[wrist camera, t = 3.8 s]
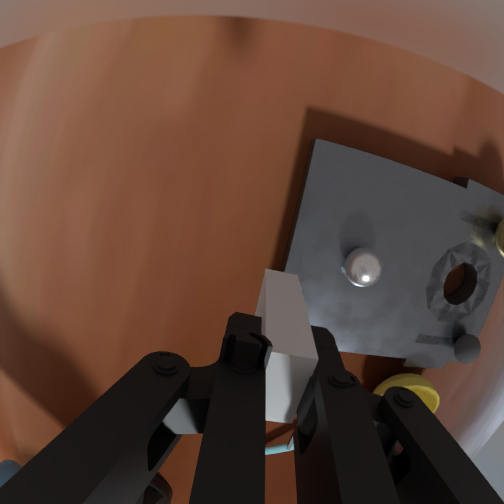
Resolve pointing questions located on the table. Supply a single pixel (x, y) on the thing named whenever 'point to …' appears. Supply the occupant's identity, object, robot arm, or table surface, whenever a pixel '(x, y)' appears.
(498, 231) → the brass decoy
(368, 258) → the steel ball
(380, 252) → the grey flat slab
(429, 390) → the ladle
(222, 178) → the table surface
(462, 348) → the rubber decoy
